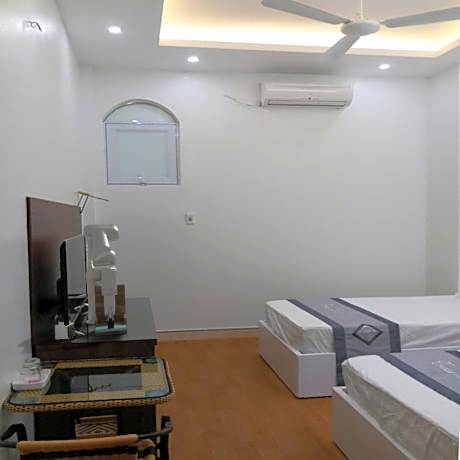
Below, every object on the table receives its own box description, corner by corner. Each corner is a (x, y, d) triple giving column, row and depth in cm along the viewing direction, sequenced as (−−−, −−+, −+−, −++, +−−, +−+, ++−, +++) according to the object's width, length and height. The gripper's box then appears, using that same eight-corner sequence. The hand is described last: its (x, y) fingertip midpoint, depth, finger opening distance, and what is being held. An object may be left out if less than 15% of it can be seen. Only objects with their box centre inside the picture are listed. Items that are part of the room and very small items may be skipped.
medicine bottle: (68, 339, 251) (67, 316, 250) (55, 339, 252) (54, 316, 252) (75, 336, 258) (74, 313, 257) (62, 336, 259) (61, 313, 259)
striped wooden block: (96, 330, 271) (94, 286, 270) (126, 327, 275) (124, 284, 274) (95, 336, 256) (93, 289, 256) (127, 333, 260) (125, 287, 260)
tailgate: (95, 327, 255) (95, 330, 246) (126, 324, 259) (126, 327, 249) (95, 329, 255) (95, 332, 246) (126, 327, 259) (126, 329, 249)
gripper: (102, 290, 255) (103, 325, 255) (101, 294, 240) (103, 332, 241) (117, 289, 257) (118, 324, 257) (117, 293, 242) (118, 330, 243)
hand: (110, 328), depth 249 cm, fingers closed
